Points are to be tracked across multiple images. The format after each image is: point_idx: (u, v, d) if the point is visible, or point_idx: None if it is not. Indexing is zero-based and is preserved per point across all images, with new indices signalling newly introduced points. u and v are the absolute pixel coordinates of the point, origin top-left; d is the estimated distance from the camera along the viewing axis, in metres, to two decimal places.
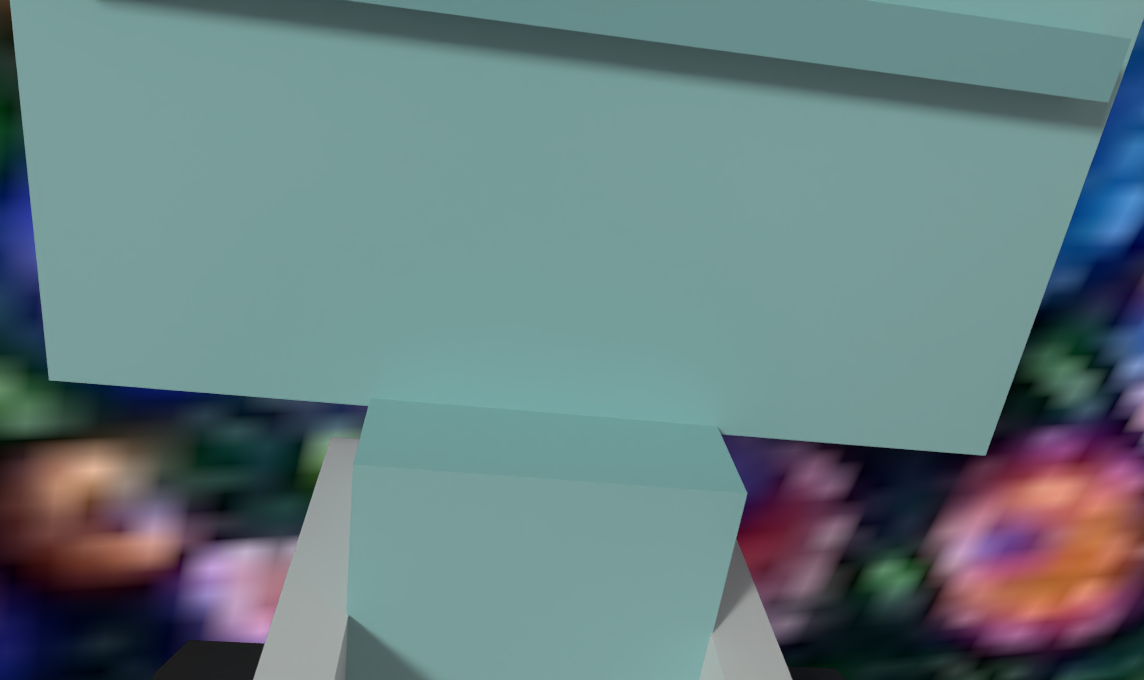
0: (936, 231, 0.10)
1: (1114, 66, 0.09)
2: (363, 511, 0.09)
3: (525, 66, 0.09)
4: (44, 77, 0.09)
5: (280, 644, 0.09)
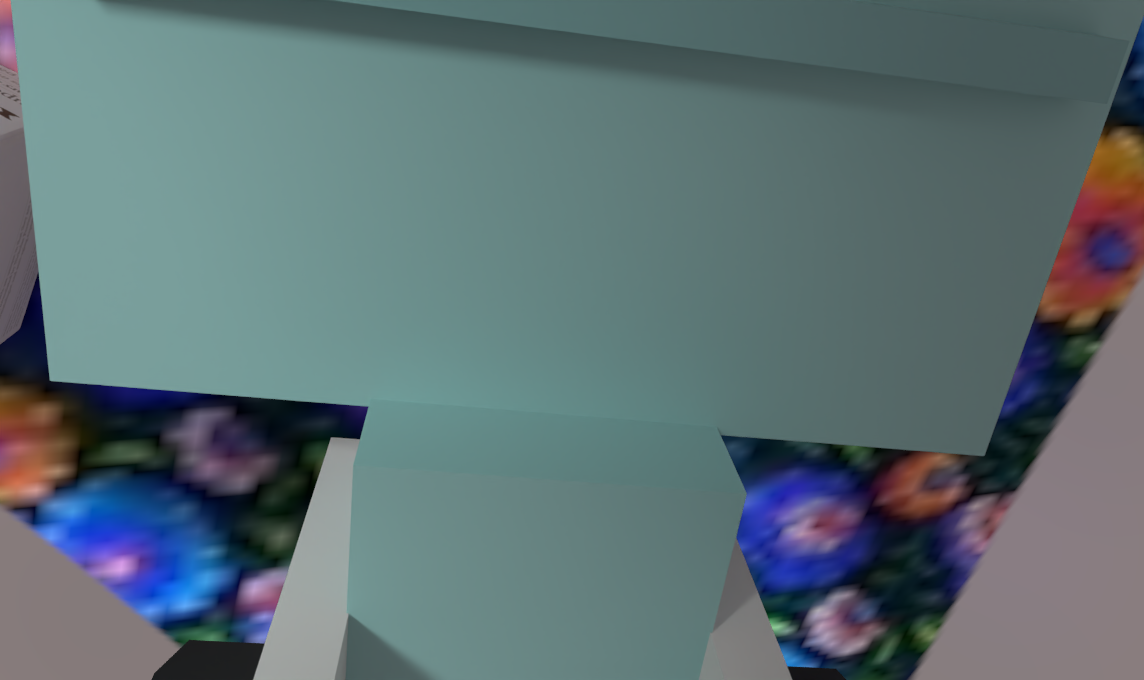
0: (935, 232, 0.10)
1: (1112, 68, 0.09)
2: (363, 512, 0.09)
3: (525, 68, 0.09)
4: (45, 79, 0.09)
5: (280, 644, 0.09)
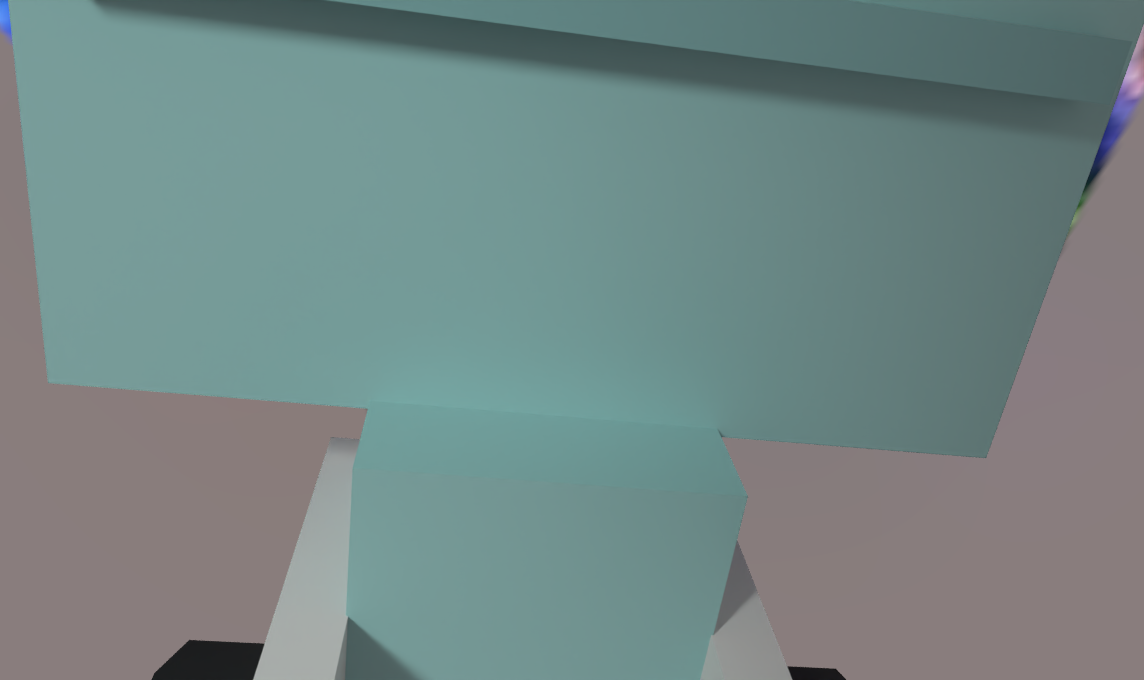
0: (936, 233, 0.10)
1: (1115, 69, 0.09)
2: (363, 514, 0.09)
3: (525, 69, 0.09)
4: (43, 80, 0.09)
5: (280, 644, 0.09)
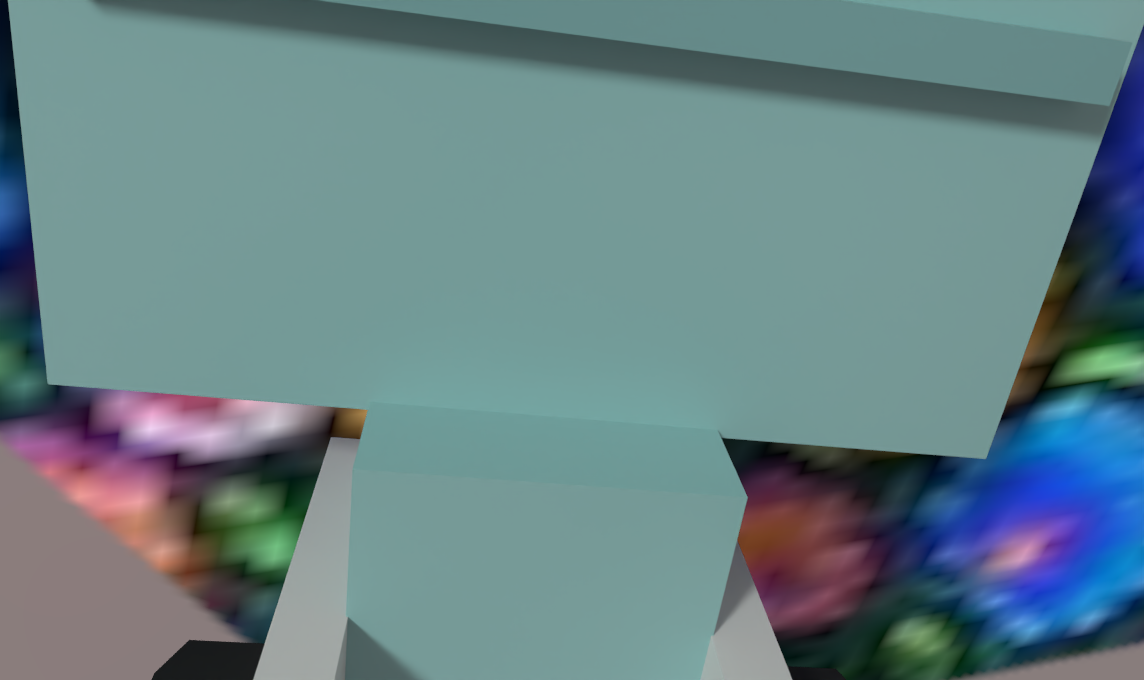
0: (937, 235, 0.10)
1: (1115, 70, 0.09)
2: (363, 516, 0.09)
3: (525, 70, 0.09)
4: (43, 81, 0.09)
5: (280, 644, 0.09)
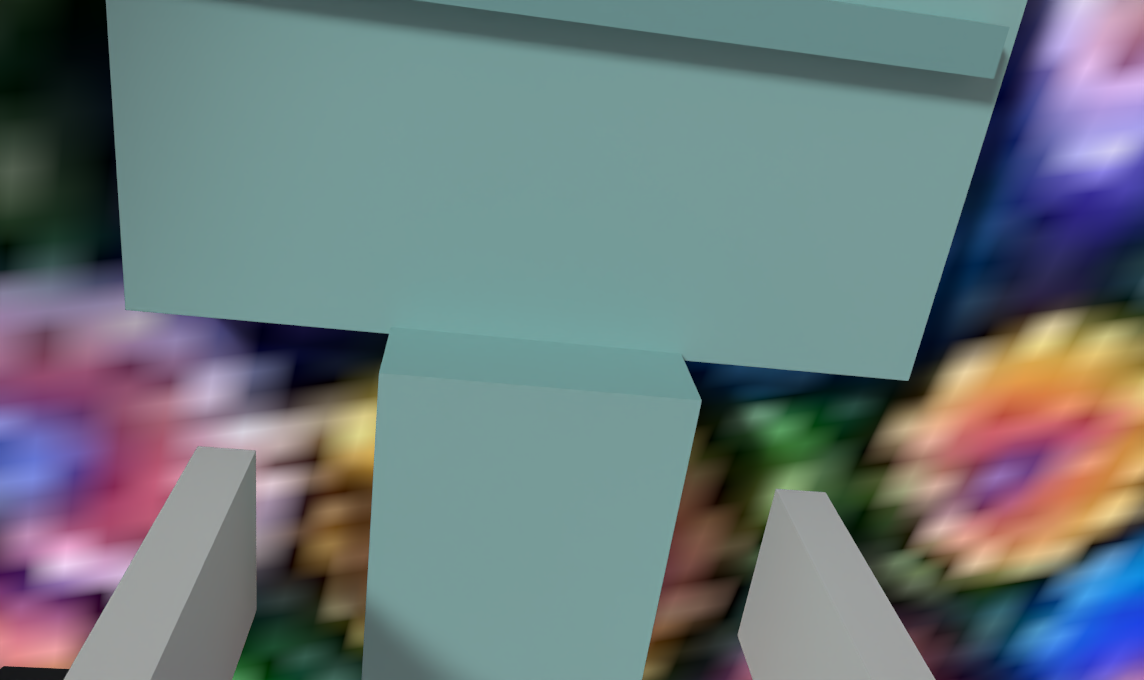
0: (860, 187, 0.12)
1: (997, 49, 0.11)
2: (387, 413, 0.11)
3: (519, 49, 0.11)
4: (130, 57, 0.11)
5: (85, 673, 0.09)
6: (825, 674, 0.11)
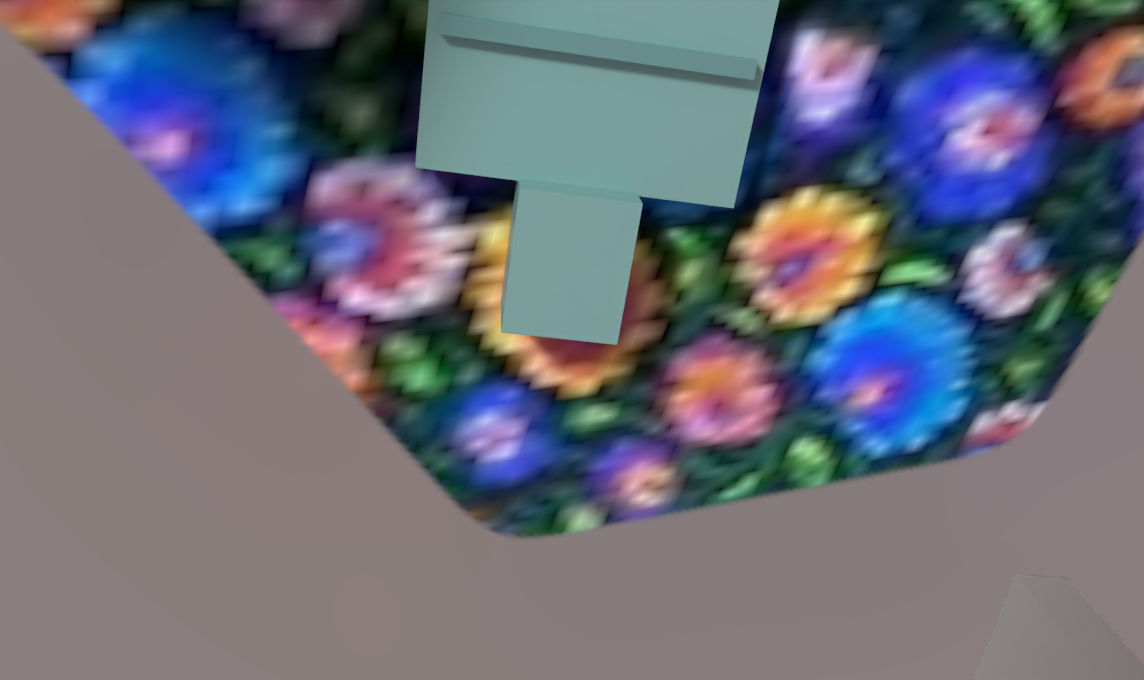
0: (707, 123, 0.30)
1: (754, 69, 0.29)
2: (521, 205, 0.29)
3: (574, 66, 0.29)
4: (430, 67, 0.29)
5: None
6: None
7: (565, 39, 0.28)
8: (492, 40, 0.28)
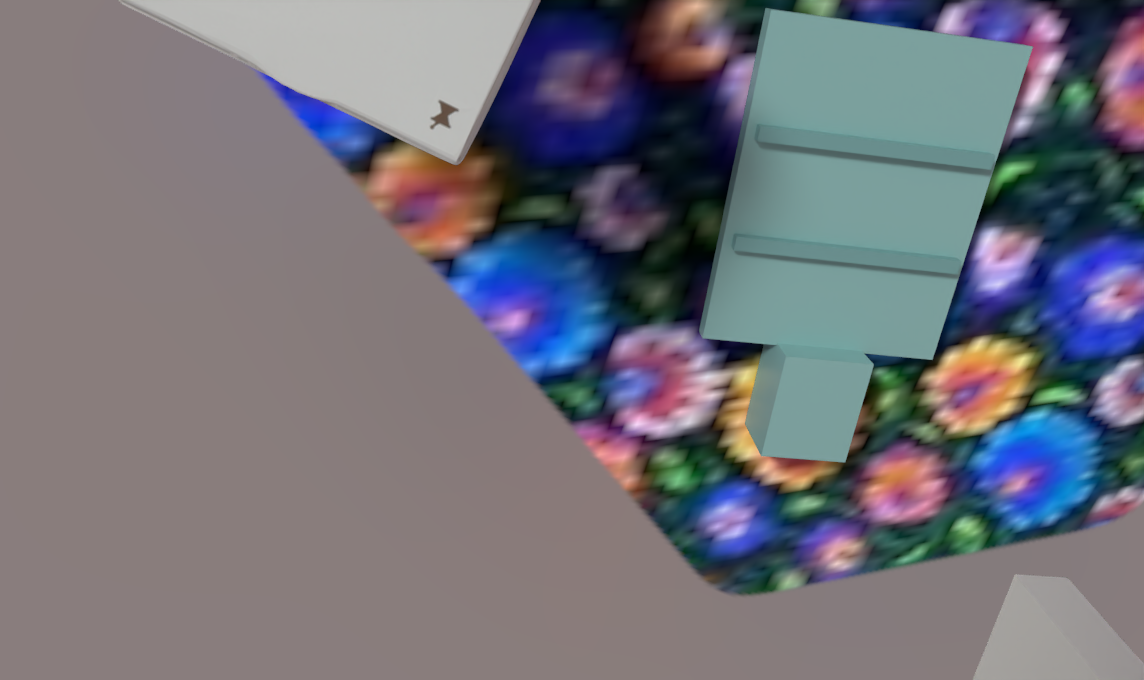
0: (918, 301, 0.41)
1: (958, 266, 0.40)
2: (786, 368, 0.40)
3: (825, 266, 0.40)
4: (722, 270, 0.39)
5: None
6: None
7: (824, 251, 0.39)
8: (772, 253, 0.39)
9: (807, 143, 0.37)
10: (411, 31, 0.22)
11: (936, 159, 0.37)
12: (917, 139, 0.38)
